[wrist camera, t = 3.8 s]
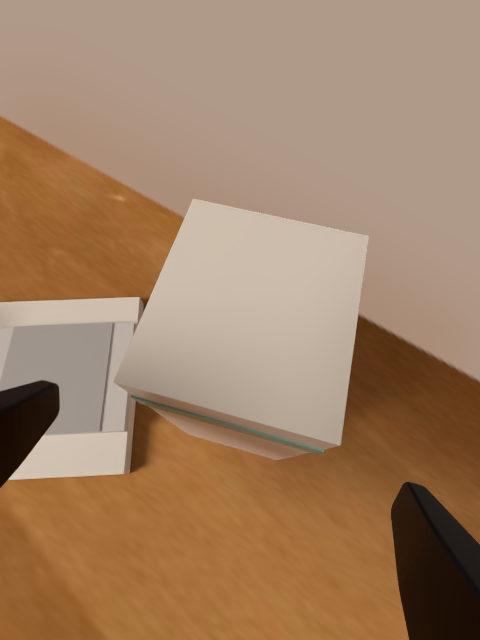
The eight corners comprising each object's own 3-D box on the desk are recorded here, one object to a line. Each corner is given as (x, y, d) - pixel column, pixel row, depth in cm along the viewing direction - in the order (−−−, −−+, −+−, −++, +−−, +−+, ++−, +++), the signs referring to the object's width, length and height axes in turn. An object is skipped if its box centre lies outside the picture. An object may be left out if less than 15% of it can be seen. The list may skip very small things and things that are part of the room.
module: (277, 461, 18) (342, 449, 7) (187, 435, 18) (110, 383, 7) (297, 364, 20) (370, 235, 9) (216, 343, 20) (191, 197, 9)
